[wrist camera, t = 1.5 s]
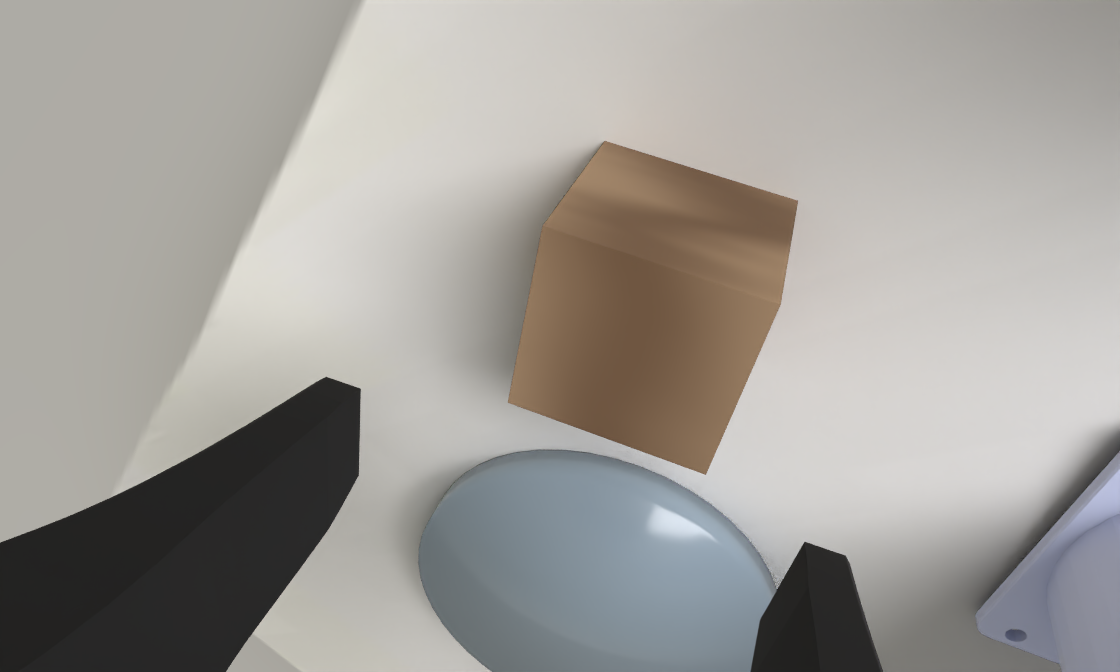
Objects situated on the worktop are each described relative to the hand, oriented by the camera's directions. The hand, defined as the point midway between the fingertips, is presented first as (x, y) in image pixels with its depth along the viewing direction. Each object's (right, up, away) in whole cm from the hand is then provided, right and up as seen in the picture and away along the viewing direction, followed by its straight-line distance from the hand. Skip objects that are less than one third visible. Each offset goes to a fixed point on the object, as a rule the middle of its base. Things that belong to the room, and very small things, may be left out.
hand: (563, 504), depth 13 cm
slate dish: (+1, -6, +14) cm, 16 cm away
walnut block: (+3, +5, +7) cm, 9 cm away
